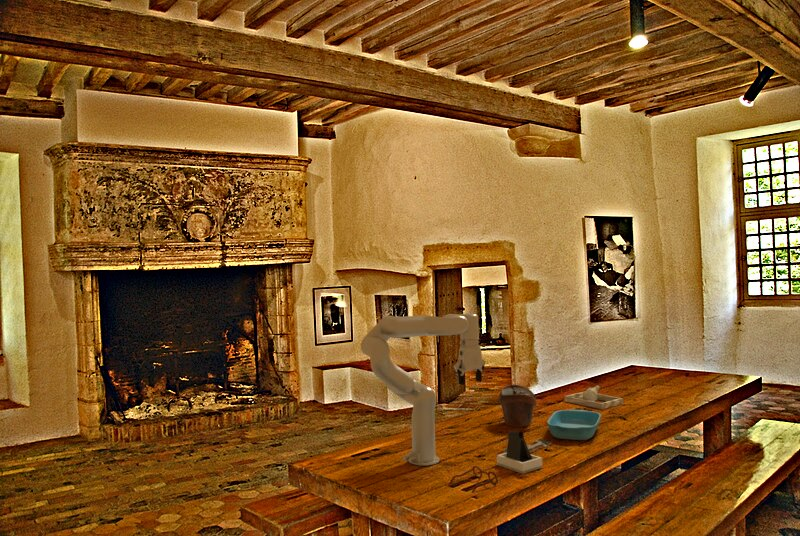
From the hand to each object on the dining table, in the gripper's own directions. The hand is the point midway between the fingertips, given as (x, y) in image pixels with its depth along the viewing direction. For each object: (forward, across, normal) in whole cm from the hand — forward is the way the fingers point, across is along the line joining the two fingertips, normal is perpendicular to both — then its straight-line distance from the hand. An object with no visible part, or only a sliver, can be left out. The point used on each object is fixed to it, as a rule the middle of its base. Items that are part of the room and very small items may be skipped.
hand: (470, 382), depth 296 cm
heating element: (+31, +21, -13) cm, 40 cm away
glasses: (+31, -25, -28) cm, 49 cm away
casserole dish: (+31, +59, -6) cm, 67 cm away
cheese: (+31, +113, +28) cm, 121 cm away
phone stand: (+28, +3, -25) cm, 38 cm away
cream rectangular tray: (+30, +3, -25) cm, 39 cm away
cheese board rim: (+30, +113, +25) cm, 120 cm away
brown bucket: (+31, +50, +21) cm, 62 cm away
